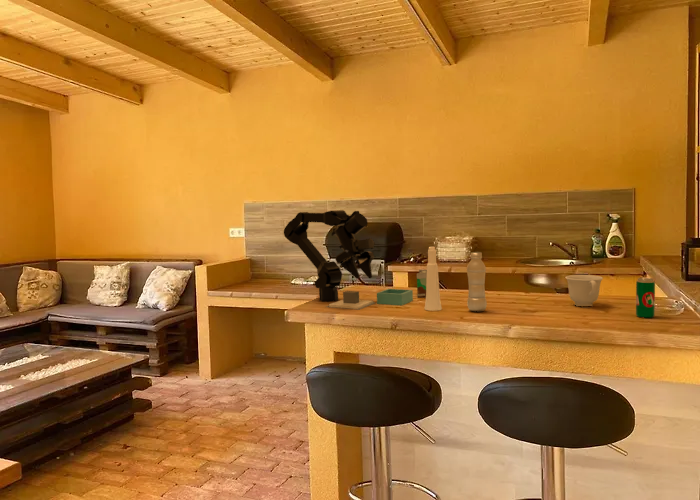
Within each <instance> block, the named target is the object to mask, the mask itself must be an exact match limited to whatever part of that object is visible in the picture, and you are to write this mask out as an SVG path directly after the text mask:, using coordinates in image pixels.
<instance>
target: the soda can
mask: <svg viewBox="0 0 700 500" xmlns="http://www.w3.org/2000/svg"><path fill="white" fill-rule="evenodd" d="M635 285H636V286H635V315H636V316H637V318H640V317H644V318H643V319H653V318H654V317H655V315H656V314H655V312H656V310H655V309H656V306H655V305H656V304H655V303H656V282H655V280H654V278H653V277H637V280H636V284H635Z"/></svg>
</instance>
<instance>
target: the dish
mask: <svg viewBox="0 0 700 500" xmlns="http://www.w3.org/2000/svg"><path fill="white" fill-rule="evenodd" d="M413 291H414V290H413V289H404V288H403V289H401V288H400V289H399V288H386V289H384V290H381V291H378V292H376V304H377V305H389V306H390V305H391V306H404V305H407V304H409V303H411V302H413V301H414V298H413V297H414V296H413V295H414V292H413Z"/></svg>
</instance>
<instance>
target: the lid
mask: <svg viewBox="0 0 700 500" xmlns="http://www.w3.org/2000/svg"><path fill="white" fill-rule="evenodd" d="M342 296H343V297H342V299H341V300H338V301H335V302H331V303H329V304H328V306H329V307H328V308H330V307H340V308H339V309H342V308H352V309H351V310H355V309H359V308H362V307H364V306H367V305H369V304H372V303H373V302H374V300H368V299H366V300H365V299H360V291H359V290H358V291H357V290H356V291H355V290H346V291H343V292H342ZM372 305H373V304H372ZM367 307H368V306H367ZM362 309H363V308H362Z"/></svg>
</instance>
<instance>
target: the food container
mask: <svg viewBox="0 0 700 500" xmlns="http://www.w3.org/2000/svg"><path fill="white" fill-rule="evenodd" d="M426 284H427V269H418V273H416V293H417V294H416V295H417V296H416V297H417V299H423V298H424V299H426Z"/></svg>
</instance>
